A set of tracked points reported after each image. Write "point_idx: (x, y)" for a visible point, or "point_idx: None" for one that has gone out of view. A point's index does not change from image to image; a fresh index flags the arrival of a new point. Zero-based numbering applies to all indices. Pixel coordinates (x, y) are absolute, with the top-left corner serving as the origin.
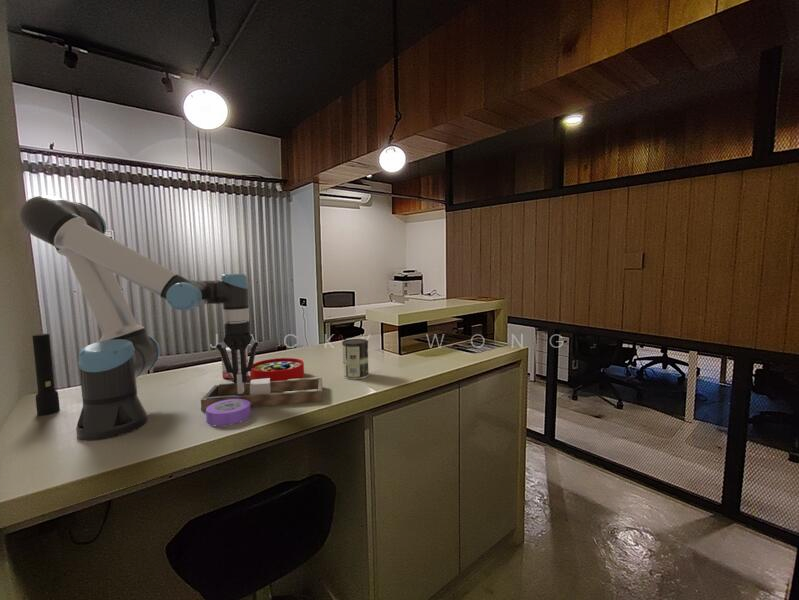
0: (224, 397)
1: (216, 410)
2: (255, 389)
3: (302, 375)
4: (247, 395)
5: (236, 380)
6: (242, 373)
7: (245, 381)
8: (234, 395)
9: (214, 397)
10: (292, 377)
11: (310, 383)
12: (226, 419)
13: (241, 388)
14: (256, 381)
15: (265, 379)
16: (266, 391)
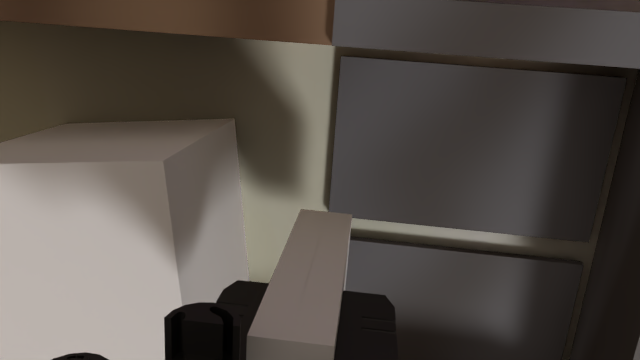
0: (478, 2)
1: None
2: (126, 148)
3: None
4: (206, 24)
5: (353, 315)
6: (213, 313)
7: (232, 288)
8: (358, 39)
9: (610, 34)
10: None
11: None
12: None
13: (299, 232)
14: (108, 297)
15: (15, 342)
16: (33, 142)
